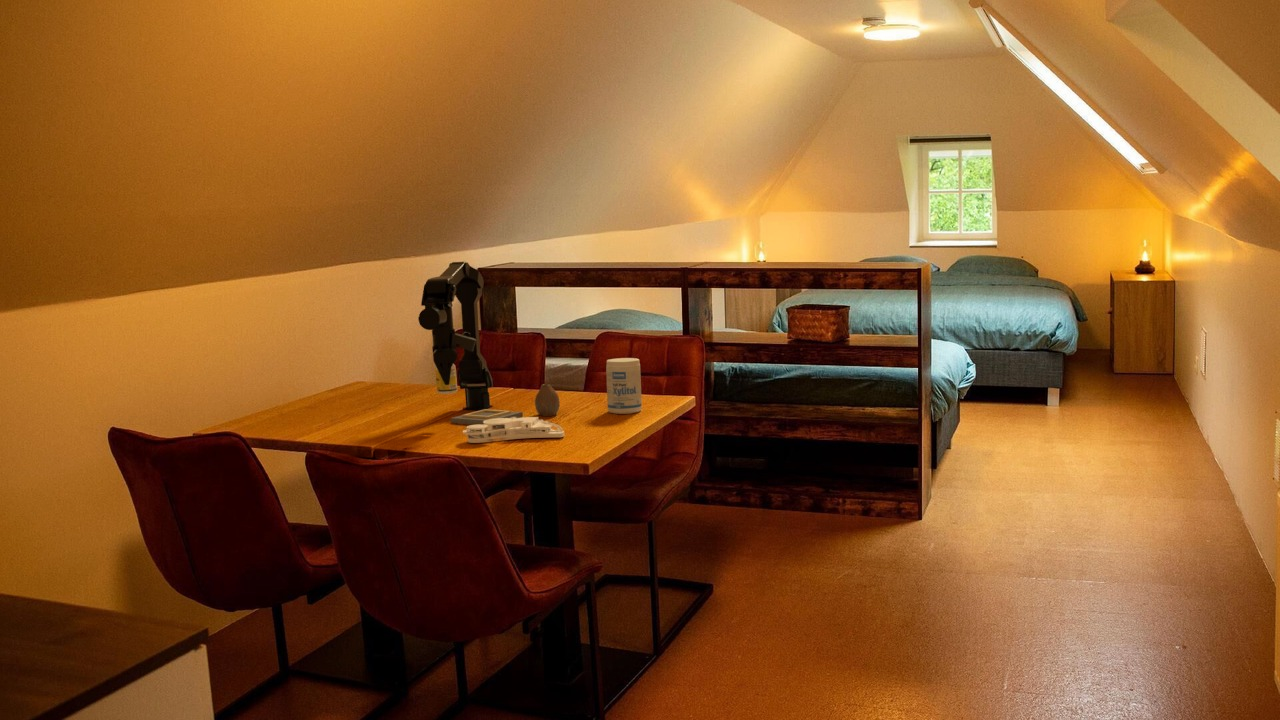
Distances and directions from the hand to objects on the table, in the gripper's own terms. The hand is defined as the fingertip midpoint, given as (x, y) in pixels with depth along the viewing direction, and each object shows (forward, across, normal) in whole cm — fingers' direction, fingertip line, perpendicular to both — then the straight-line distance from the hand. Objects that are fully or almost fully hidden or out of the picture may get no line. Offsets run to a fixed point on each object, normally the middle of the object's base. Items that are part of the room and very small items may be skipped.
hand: (446, 383), depth 298 cm
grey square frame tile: (+12, +6, -10) cm, 17 cm away
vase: (+12, +6, -27) cm, 31 cm away
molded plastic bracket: (+13, -16, -17) cm, 27 cm away
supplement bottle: (+3, 0, 0) cm, 3 cm away
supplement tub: (+13, +2, -48) cm, 50 cm away
